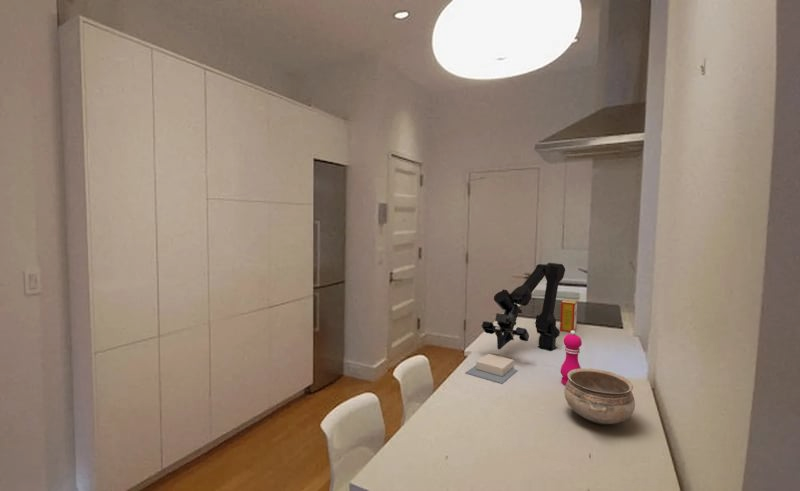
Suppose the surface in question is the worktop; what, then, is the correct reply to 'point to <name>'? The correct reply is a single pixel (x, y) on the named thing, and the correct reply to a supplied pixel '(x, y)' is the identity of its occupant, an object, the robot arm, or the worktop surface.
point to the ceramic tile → (495, 364)
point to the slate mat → (491, 375)
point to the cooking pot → (599, 395)
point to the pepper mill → (570, 355)
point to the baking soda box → (568, 315)
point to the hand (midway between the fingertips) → (498, 348)
